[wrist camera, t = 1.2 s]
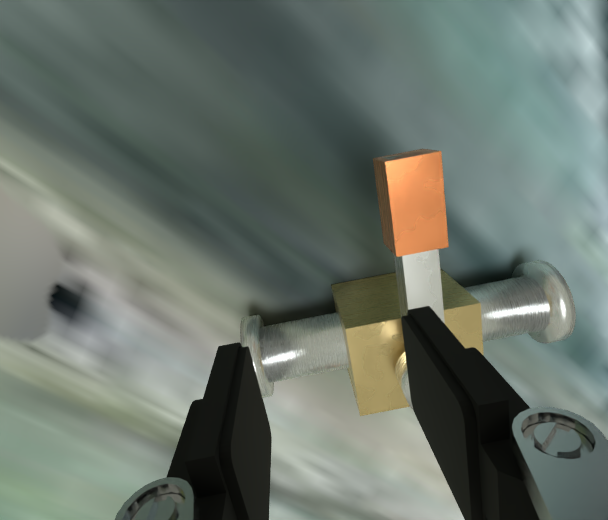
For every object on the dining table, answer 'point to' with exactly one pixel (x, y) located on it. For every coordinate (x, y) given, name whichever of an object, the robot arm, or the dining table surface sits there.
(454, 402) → the robot arm
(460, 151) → the dining table surface
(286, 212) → the dining table surface
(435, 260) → the valve lever
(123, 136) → the dining table surface
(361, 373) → the valve pipe
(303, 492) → the dining table surface
